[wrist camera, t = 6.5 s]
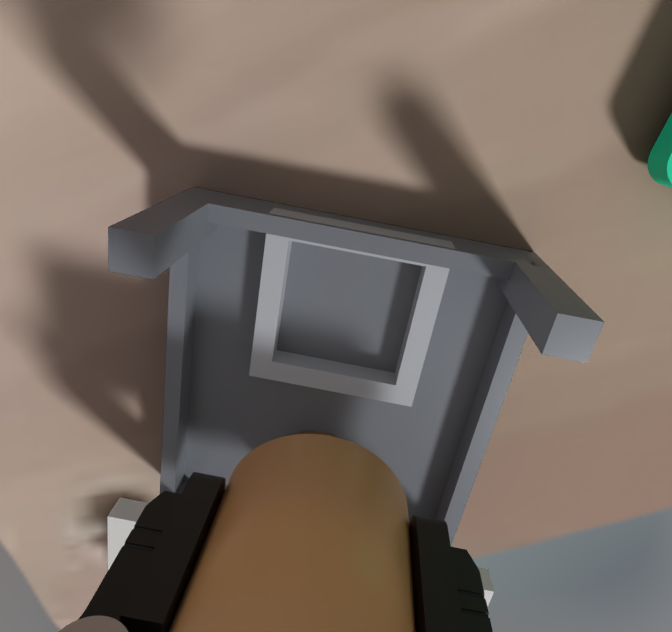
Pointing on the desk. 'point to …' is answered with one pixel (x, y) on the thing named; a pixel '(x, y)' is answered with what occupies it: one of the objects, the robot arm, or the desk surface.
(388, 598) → the tan egg
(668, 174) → the camera mount
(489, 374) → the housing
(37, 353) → the desk surface
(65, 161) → the desk surface
